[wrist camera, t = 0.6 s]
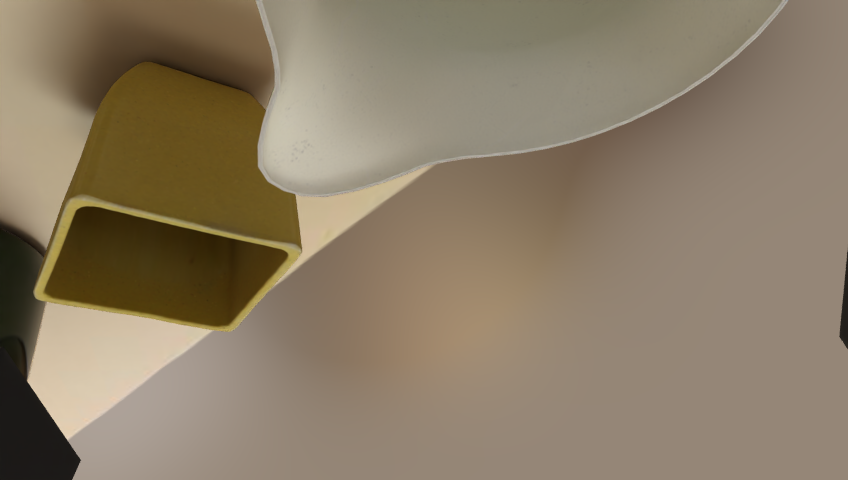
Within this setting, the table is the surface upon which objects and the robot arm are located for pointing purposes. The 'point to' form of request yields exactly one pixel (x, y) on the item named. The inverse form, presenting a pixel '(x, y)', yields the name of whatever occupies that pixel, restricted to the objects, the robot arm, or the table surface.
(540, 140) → the pitcher
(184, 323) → the flower pot
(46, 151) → the table surface
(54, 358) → the table surface
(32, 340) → the dark green wine bottle
